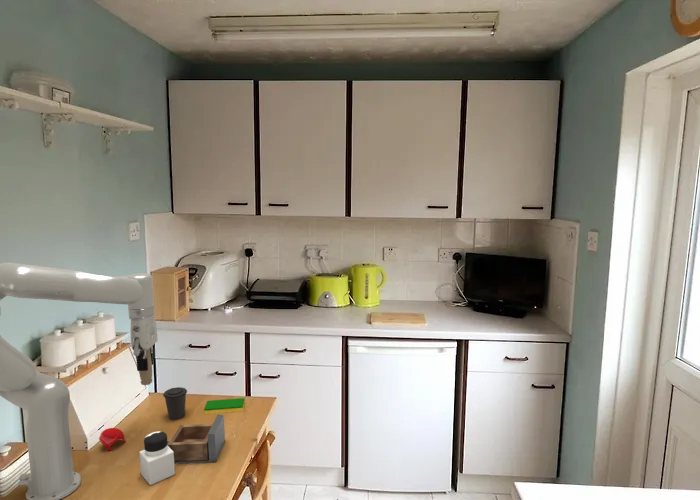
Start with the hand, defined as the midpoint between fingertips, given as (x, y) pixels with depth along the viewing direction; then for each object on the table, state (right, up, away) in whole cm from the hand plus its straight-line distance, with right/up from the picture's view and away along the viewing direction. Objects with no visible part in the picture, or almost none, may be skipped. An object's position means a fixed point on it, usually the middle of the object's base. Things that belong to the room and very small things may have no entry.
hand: (145, 367), depth 146 cm
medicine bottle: (+11, -27, -17) cm, 33 cm away
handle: (0, -6, +1) cm, 6 cm away
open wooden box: (+18, -25, -6) cm, 31 cm away
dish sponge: (+19, -22, +23) cm, 37 cm away
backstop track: (+15, -25, -6) cm, 30 cm away
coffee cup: (+4, -22, +17) cm, 28 cm away
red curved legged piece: (-10, -25, -2) cm, 27 cm away
